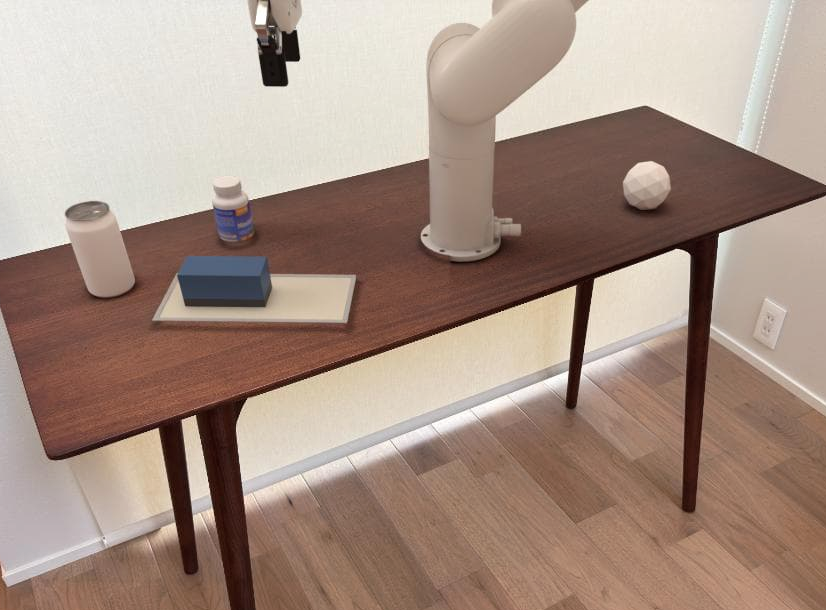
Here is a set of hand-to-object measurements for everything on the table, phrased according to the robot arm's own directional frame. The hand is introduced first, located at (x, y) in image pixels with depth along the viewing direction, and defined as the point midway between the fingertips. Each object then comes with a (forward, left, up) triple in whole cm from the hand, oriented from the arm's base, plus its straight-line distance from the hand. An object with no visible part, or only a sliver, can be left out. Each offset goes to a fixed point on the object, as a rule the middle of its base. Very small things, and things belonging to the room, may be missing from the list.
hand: (282, 72), depth 104 cm
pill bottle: (+11, -2, -26) cm, 29 cm away
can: (+26, +12, -26) cm, 39 cm away
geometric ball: (-55, -15, -26) cm, 63 cm away
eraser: (+8, +16, -25) cm, 31 cm away
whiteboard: (+4, +16, -26) cm, 31 cm away
